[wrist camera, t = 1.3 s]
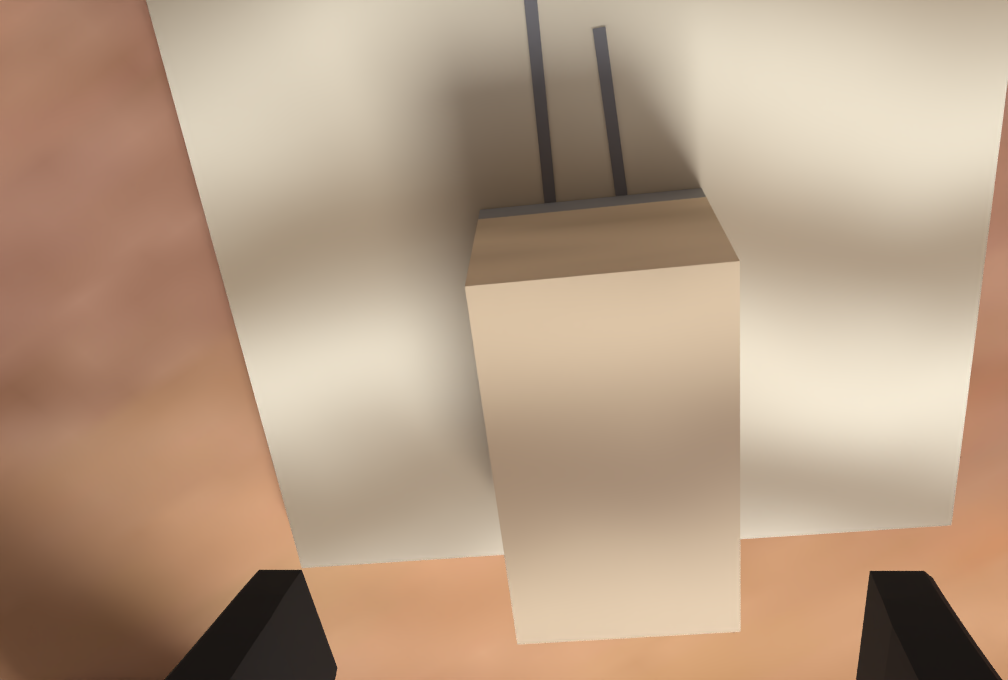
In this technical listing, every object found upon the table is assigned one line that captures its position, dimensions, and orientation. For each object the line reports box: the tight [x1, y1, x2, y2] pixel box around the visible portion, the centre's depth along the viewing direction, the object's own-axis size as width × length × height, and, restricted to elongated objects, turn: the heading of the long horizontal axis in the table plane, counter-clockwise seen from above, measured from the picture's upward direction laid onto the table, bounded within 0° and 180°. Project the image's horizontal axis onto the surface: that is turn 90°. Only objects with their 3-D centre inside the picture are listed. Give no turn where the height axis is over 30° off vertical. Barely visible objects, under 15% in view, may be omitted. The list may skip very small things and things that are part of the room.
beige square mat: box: [146, 0, 1008, 568], centre depth 19 cm, size 16×16×1 cm
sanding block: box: [465, 188, 740, 644], centre depth 18 cm, size 8×4×4 cm, turn 7°
